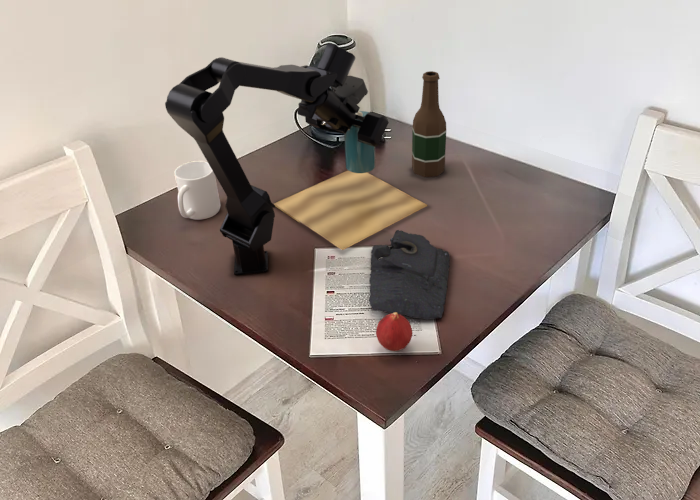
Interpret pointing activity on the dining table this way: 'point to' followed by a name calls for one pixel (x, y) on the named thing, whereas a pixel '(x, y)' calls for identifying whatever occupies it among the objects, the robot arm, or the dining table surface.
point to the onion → (394, 332)
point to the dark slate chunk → (409, 277)
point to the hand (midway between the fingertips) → (363, 136)
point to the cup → (197, 190)
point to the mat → (349, 207)
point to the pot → (358, 151)
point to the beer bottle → (429, 131)
